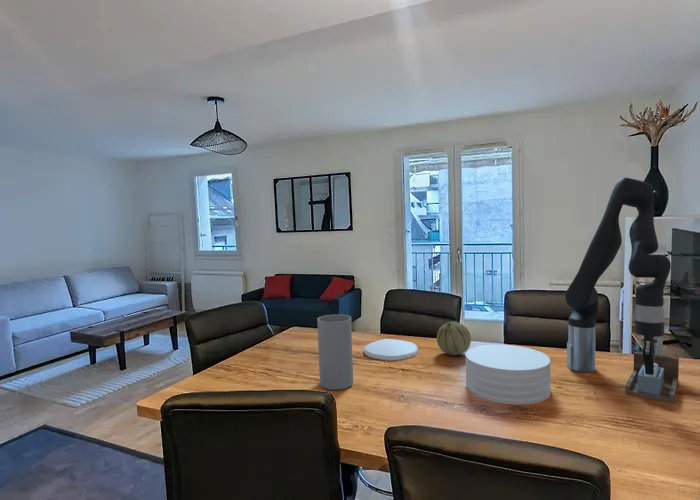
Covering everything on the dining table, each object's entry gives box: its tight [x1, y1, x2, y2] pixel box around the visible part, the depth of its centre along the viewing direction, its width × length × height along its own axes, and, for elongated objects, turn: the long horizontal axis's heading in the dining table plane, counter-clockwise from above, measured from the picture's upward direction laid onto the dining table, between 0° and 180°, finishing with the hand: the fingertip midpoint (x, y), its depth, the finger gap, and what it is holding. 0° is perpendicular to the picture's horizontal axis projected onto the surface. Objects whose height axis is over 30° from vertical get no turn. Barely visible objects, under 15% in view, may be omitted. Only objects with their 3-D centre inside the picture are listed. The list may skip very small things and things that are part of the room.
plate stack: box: [465, 344, 551, 405], centre depth 151 cm, size 28×28×12 cm
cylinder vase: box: [316, 314, 354, 391], centre depth 158 cm, size 12×12×25 cm
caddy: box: [637, 363, 664, 397], centre depth 142 cm, size 12×6×8 cm, turn 139°
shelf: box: [624, 351, 680, 405], centre depth 145 cm, size 20×13×9 cm, turn 139°
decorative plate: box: [363, 338, 419, 361], centre depth 197 cm, size 25×4×25 cm
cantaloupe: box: [436, 321, 472, 356], centre depth 188 cm, size 15×15×15 cm
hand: (649, 373), depth 133 cm, fingers closed
